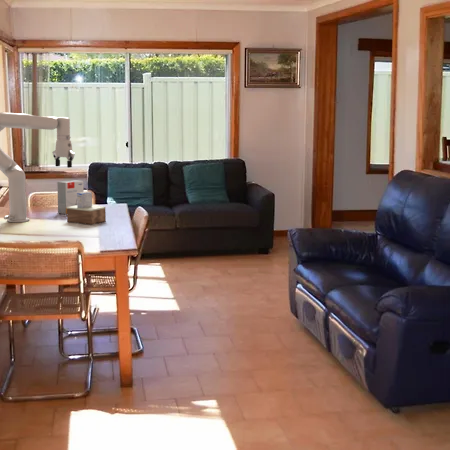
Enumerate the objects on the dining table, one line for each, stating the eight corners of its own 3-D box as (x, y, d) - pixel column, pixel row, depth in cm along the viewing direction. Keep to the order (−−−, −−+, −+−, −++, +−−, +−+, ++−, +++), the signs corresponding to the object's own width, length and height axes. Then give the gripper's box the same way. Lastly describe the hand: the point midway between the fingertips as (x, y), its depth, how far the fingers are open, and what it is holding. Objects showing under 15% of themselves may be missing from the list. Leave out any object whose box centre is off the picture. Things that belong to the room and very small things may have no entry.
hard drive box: (65, 214, 448) (64, 182, 444) (57, 213, 452) (56, 181, 449) (84, 211, 460) (83, 180, 456) (76, 210, 465) (75, 179, 461)
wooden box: (91, 225, 413) (90, 211, 412) (67, 221, 422) (66, 208, 421) (105, 221, 424) (105, 208, 423) (82, 218, 433) (81, 205, 432)
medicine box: (87, 206, 425) (86, 191, 423) (92, 206, 422) (92, 192, 421) (77, 207, 419) (76, 192, 417) (82, 208, 416) (82, 193, 415)
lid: (90, 211, 411) (90, 209, 411) (66, 208, 420) (66, 207, 420) (105, 208, 423) (105, 206, 422) (81, 205, 432) (81, 204, 432)
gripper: (78, 138, 424) (78, 167, 427) (57, 137, 433) (57, 165, 436) (69, 139, 418) (69, 168, 421) (48, 137, 427) (48, 166, 430)
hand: (63, 166), depth 428 cm, fingers open, 9 cm apart
